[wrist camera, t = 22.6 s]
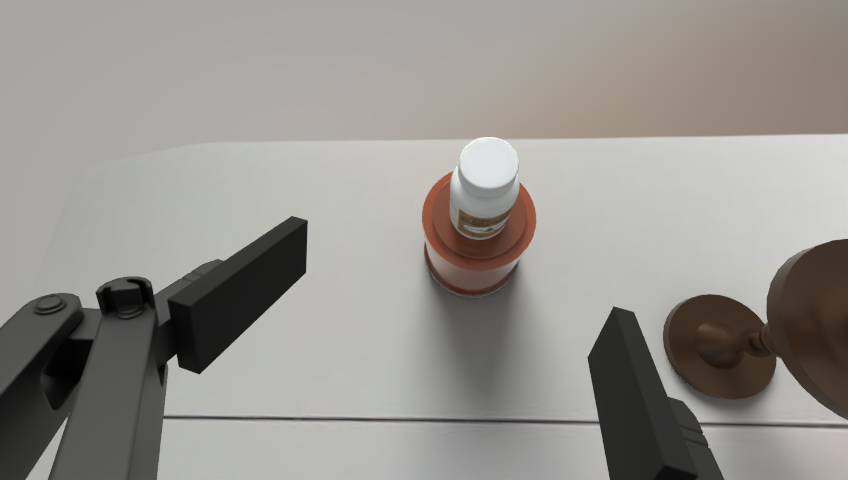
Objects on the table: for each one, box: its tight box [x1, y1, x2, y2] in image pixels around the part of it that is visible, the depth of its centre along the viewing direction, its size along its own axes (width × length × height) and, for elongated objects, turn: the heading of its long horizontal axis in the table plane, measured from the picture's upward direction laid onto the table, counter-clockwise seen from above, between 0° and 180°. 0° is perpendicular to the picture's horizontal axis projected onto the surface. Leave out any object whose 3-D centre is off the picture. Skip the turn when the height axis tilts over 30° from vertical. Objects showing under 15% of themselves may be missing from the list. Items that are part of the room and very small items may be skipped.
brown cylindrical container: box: [422, 171, 536, 298], centre depth 34 cm, size 9×9×11 cm
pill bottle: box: [450, 137, 520, 240], centre depth 26 cm, size 4×4×8 cm
